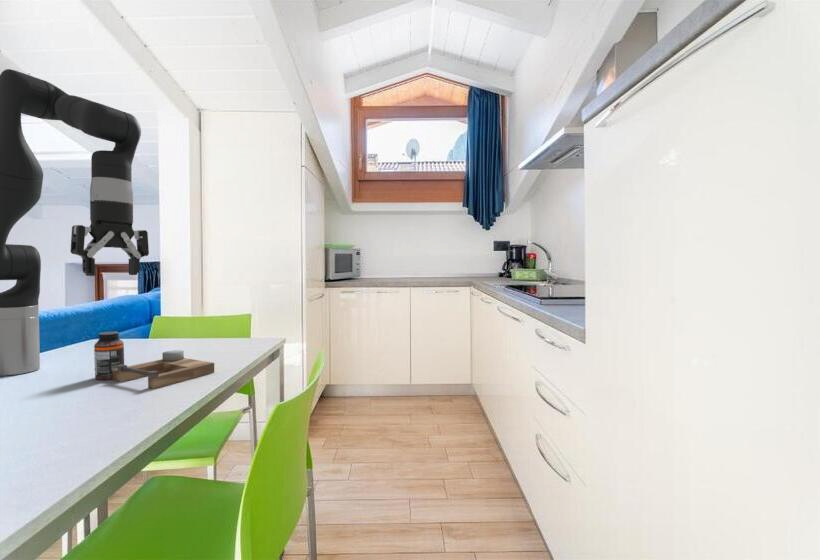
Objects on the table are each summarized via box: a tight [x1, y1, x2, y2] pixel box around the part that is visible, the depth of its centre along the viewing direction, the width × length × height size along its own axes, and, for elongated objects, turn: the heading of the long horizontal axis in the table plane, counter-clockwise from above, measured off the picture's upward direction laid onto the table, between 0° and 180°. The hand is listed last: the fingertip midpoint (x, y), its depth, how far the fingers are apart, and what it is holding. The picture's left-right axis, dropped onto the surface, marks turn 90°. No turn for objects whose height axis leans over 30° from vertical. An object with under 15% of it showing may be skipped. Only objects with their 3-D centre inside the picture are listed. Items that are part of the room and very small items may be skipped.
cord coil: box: [161, 349, 185, 362], centre depth 109 cm, size 5×5×2 cm
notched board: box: [112, 357, 215, 390], centre depth 102 cm, size 16×16×4 cm
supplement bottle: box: [93, 331, 125, 381], centre depth 100 cm, size 6×6×11 cm
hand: (112, 275), depth 88 cm, fingers open, 8 cm apart
